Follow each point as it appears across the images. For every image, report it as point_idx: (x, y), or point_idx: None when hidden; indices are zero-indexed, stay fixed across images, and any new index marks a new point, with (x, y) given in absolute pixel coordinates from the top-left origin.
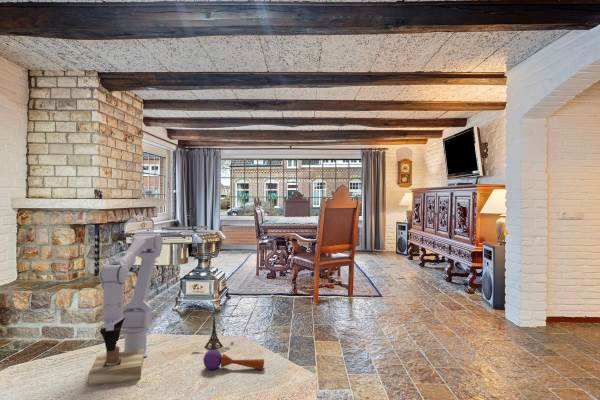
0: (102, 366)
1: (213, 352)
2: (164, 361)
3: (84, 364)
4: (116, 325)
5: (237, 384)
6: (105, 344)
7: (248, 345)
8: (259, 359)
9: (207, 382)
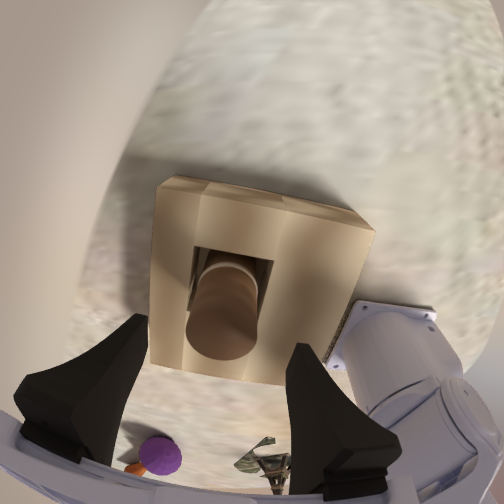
0: (205, 245)
1: (150, 470)
2: (256, 395)
3: (411, 168)
4: (301, 453)
5: None
6: (109, 335)
7: (243, 484)
8: None
9: None
